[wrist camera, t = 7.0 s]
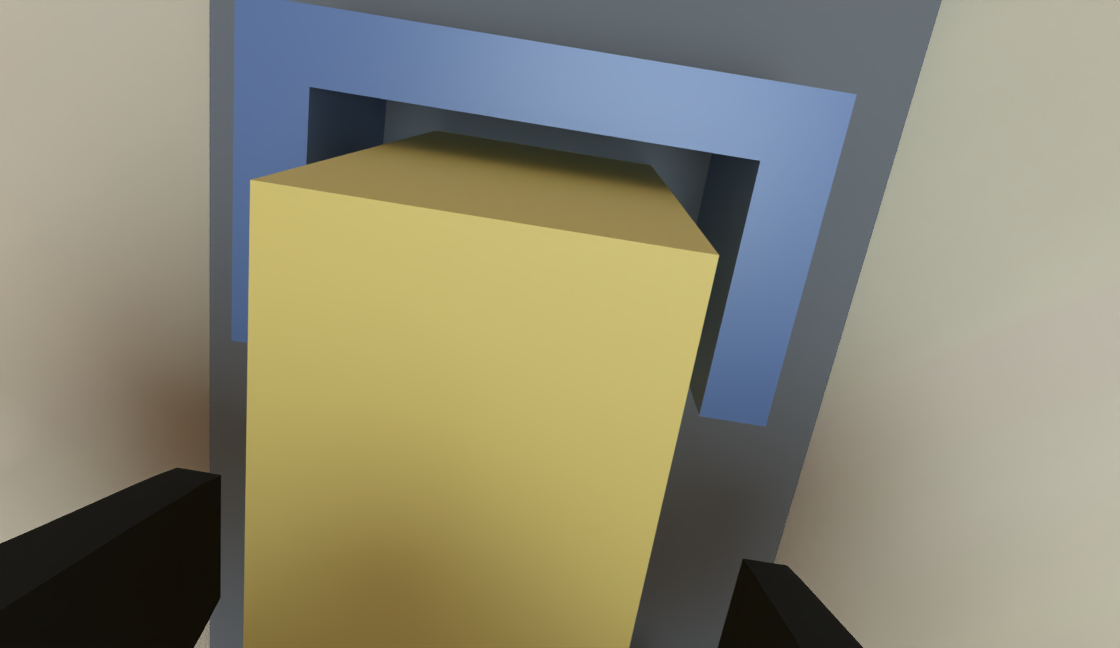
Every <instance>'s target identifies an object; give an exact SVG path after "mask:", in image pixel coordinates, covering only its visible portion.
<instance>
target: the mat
mask: <svg viewBox="0 0 1120 648" xmlns="http://www.w3.org/2000/svg"><path fill="white" fill-rule="evenodd" d="M288 1H294V2H300V3H306V4H312V5H318V6H324V7H330V8H336V9H342V10H348V11H354V12H360V13H366V14H372V15H379V16H385V17H391V18H397V19H403V20H409V21H415V22H421V23H427V24H433V25H439V26H445V27H451V28H457V29H463V30H470V31H476V32H482V33H488V34H494V35H500V36H506V37H512V38H518V39H524V40H530V41H536V42H542V43H548V44H554V45H561V46H567V47H573V48H579V49H585V50H591V51H597V52H603V53H609V54H615V55H621V56H627V57H633V58H639V59H645V60H652V61H658V62H664V63H670V64H676V65H682V66H688V67H694V68H700V69H706V70H712V71H718V72H724V73H730V74H736V75H743V76H749V77H755V78H761V79H767V80H773V81H779V82H785V83H791V84H797V85H803V86H809V87H815V88H821V89H827V90H834V91H840V92H846V93H852V94H857V96H856V99H855V103H854V107H853V110H852V114H851V118H850V121H849V125H848V129H847V132H846V136H845V139H844V143H843V147H842V150H841V154H840V158H839V161H838V165H837V169H836V172H835V176H834V180H833V183H832V187H831V190H830V194H829V198H828V201H827V205H826V209H825V212H824V216H823V220H822V223H821V227H820V231H819V234H818V238H817V241H816V245H815V249H814V252H813V256H812V260H811V263H810V267H809V271H808V274H807V278H806V282H805V285H804V289H803V292H802V296H801V300H800V303H799V307H798V311H797V314H796V318H795V322H794V325H793V329H792V332H791V336H790V340H789V343H788V347H787V351H786V354H785V358H784V362H783V365H782V369H781V373H780V376H779V380H778V383H777V387H776V391H775V394H774V398H773V402H772V405H771V409H770V413H769V416H768V420H767V424H766V427H764V426H758V425H752V424H745V423H739V422H733V421H727V420H721V419H714V418H708V417H702V416H699V414H698V411H697V408H696V405H695V402H694V399H693V396H692V392H691V389H690V386H689V389H688V394H687V398H686V402H685V407H684V411H683V415H682V420H681V424H680V428H679V433H678V437H677V442H676V446H675V450H674V455H673V459H672V463H671V468H670V472H669V476H668V481H667V485H666V489H665V494H664V498H663V502H662V507H661V511H660V516H659V520H658V524H657V529H656V533H655V537H654V542H653V546H652V550H651V555H650V559H649V563H648V568H647V572H646V576H645V581H644V585H643V590H642V594H641V598H640V603H639V607H638V611H637V616H636V620H635V624H634V629H633V633H632V637H631V642H630V646H629V648H718V644H719V641H720V637H721V634H722V630H723V627H724V623H725V620H726V616H727V612H728V609H729V605H730V602H731V598H732V595H733V591H734V588H735V584H736V580H737V577H738V573H739V570H740V566H741V563H742V559H749V560H756V561H762V562H768V563H774V560H775V556H776V553H777V550H778V546H779V543H780V539H781V536H782V533H783V529H784V526H785V523H786V519H787V516H788V513H789V509H790V506H791V503H792V499H793V496H794V493H795V489H796V486H797V483H798V479H799V476H800V473H801V469H802V466H803V462H804V459H805V456H806V452H807V449H808V446H809V442H810V439H811V436H812V432H813V429H814V426H815V422H816V419H817V416H818V412H819V409H820V406H821V402H822V399H823V396H824V392H825V389H826V385H827V382H828V379H829V375H830V372H831V369H832V365H833V362H834V359H835V355H836V352H837V349H838V345H839V342H840V339H841V335H842V332H843V329H844V325H845V322H846V319H847V315H848V312H849V308H850V305H851V302H852V298H853V295H854V292H855V288H856V285H857V282H858V278H859V275H860V272H861V268H862V265H863V262H864V258H865V255H866V252H867V248H868V245H869V242H870V238H871V235H872V231H873V228H874V225H875V221H876V218H877V215H878V211H879V208H880V205H881V201H882V198H883V195H884V191H885V188H886V185H887V181H888V178H889V175H890V171H891V168H892V165H893V161H894V158H895V154H896V151H897V148H898V144H899V141H900V138H901V134H902V131H903V128H904V124H905V121H906V118H907V114H908V111H909V108H910V104H911V101H912V98H913V94H914V91H915V88H916V84H917V81H918V77H919V74H920V71H921V67H922V64H923V61H924V57H925V54H926V51H927V47H928V44H929V41H930V37H931V34H932V31H933V27H934V24H935V21H936V17H937V14H938V10H939V7H940V4H941V0H288ZM234 23H235V0H210V473H212V474H219V475H221V598H220V600H219V602H218V604H217V606H216V608H215V609H214V611H213V613H212V615H211V617H210V648H243V623H244V557H245V492H246V426H247V360H248V343H244V342H238V341H232V340H231V331H232V228H233V125H234ZM436 130H437V131H443V132H449V133H455V134H461V135H467V136H474V137H480V138H486V139H492V140H498V141H505V142H511V143H517V144H523V145H529V146H536V147H542V148H548V149H554V150H560V151H567V152H573V153H579V154H585V155H591V156H597V157H604V158H610V159H616V160H622V161H628V162H635V163H641V164H647V165H651V166H652V167H653V168H654V170H655V171H656V172H657V174H658V175H659V176H660V178H661V179H662V180H663V182H664V183H665V184H666V186H667V187H668V188H669V189H670V191H671V192H672V193H673V195H674V196H675V197H676V199H677V200H678V201H679V203H680V204H681V205H682V207H683V208H684V209H685V211H686V212H687V213H688V215H689V216H690V217H691V219H692V220H693V221H694V223H695V224H697V219H698V215H699V210H700V206H701V201H702V196H703V192H704V187H705V183H706V178H707V174H708V169H709V164H710V160H711V155H712V153H710V152H703V151H697V150H691V149H685V148H679V147H673V146H667V145H661V144H655V143H649V142H643V141H636V140H630V139H624V138H618V137H612V136H606V135H600V134H594V133H588V132H582V131H575V130H569V129H563V128H557V127H551V126H545V125H539V124H533V123H527V122H521V121H515V120H508V119H502V118H496V117H490V116H484V115H478V114H472V113H466V112H460V111H454V110H447V109H441V108H435V107H429V106H423V105H417V104H411V103H405V102H399V101H393V100H387V102H386V116H385V129H384V142H383V144H387V143H391V142H395V141H398V140H402V139H406V138H410V137H413V136H417V135H421V134H425V133H428V132H432V131H436Z"/></svg>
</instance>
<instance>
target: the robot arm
mask: <svg viewBox="0 0 1120 648" xmlns="http://www.w3.org/2000/svg"><path fill="white" fill-rule="evenodd" d="M220 598H221V475H219V474H212V473H206V472H200V471H194V470H187V469H181V468H175V469H172V470H170V471H167V472H164V473H161V474H159V475H156V476H154V477H151V478H149V479H147V480H144V481H142V482H140V483H137V484H135V485H133V486H130V487H128V488H126V489H123V490H121V491H119V492H117V493H114V494H112V495H110V496H108V497H105V498H103V499H101V500H99V501H96V502H94V503H92V504H90V505H88V506H85V507H83V508H81V509H79V510H76V511H74V512H72V513H69V514H67V515H65V516H63V517H60V518H58V519H56V520H54V521H51V522H49V523H47V524H44V525H42V526H40V527H38V528H35V529H33V530H31V531H29V532H26V533H24V534H22V535H20V536H17V537H15V538H13V539H10V540H8V541H6V542H3V543H1V544H0V648H194V646H195V644H196V643H197V641H198V639H199V637H200V636H201V634H202V632H203V630H204V628H205V626H206V624H207V623H208V621H209V619H210V617H211V615H212V613H213V611H214V609H215V608H216V606H217V604H218V602H219V600H220ZM718 648H863V647H862V646H861V645H860V644H859V643H858V642H857V640H856V639H855V638H854V637H853V636H852V635H851V634H850V633H849V632H848V631H847V630H846V628H845V627H844V626H843V625H842V624H841V623H840V622H839V621H838V620H837V619H836V617H835V616H834V615H833V614H832V613H831V612H830V611H829V610H828V609H827V608H826V606H825V605H824V604H823V603H822V602H821V601H820V600H819V599H818V598H817V597H816V595H815V594H814V593H813V592H812V591H811V590H810V589H809V588H808V587H807V586H806V585H805V584H804V582H803V581H802V580H801V579H800V578H799V577H798V576H797V575H796V574H795V573H794V572H793V571H792V570H791V569H790V568H789V567H788V566H787V565H780V564H774V563H768V562H762V561H756V560H749V559H742V563H741V566H740V570H739V573H738V577H737V580H736V584H735V588H734V591H733V595H732V598H731V602H730V605H729V609H728V612H727V616H726V620H725V623H724V627H723V630H722V634H721V637H720V641H719V644H718Z"/></svg>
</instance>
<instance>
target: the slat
mask: <svg viewBox="0 0 1120 648" xmlns="http://www.w3.org/2000/svg"><path fill="white" fill-rule="evenodd" d="M718 259H719V254H718V253H717V252H716V250H715V249H714V248H713V246H712V245H711V244H710V242H709V241H708V240H707V238H706V237H705V236H704V234H703V233H702V232H701V230H700V229H699V228H698V226H697V225H696V224H695V223H694V221H693V220H692V219H691V217H690V216H689V215H688V213H687V212H686V211H685V209H684V208H683V207H682V205H681V204H680V203H679V201H678V200H677V199H676V197H675V196H674V195H673V193H672V192H671V191H670V189H669V188H668V187H667V186H666V184H665V183H664V182H663V180H662V179H661V178H660V176H659V175H658V174H657V172H656V171H655V170H654V168H653V167H652V166H651V165H647V164H641V163H635V162H628V161H622V160H616V159H610V158H604V157H597V156H591V155H585V154H579V153H573V152H567V151H560V150H554V149H548V148H542V147H536V146H529V145H523V144H517V143H511V142H505V141H498V140H492V139H486V138H480V137H474V136H467V135H461V134H455V133H449V132H443V131H437V130H436V131H432V132H428V133H425V134H421V135H417V136H413V137H410V138H406V139H402V140H398V141H395V142H391V143H387V144H383V145H380V146H376V147H372V148H368V149H364V150H361V151H357V152H353V153H349V154H346V155H342V156H338V157H334V158H331V159H327V160H323V161H319V162H316V163H312V164H308V165H304V166H300V167H297V168H293V169H289V170H285V171H282V172H278V173H274V174H270V175H267V176H263V177H259V178H255V179H252V180H250V228H249V294H248V360H247V426H246V492H245V557H244V623H243V648H629V646H630V642H631V637H632V633H633V629H634V624H635V620H636V616H637V611H638V607H639V603H640V598H641V594H642V590H643V585H644V581H645V576H646V572H647V568H648V563H649V559H650V555H651V550H652V546H653V542H654V537H655V533H656V529H657V524H658V520H659V516H660V511H661V507H662V502H663V498H664V494H665V489H666V485H667V481H668V476H669V472H670V468H671V463H672V459H673V455H674V450H675V446H676V442H677V437H678V433H679V428H680V424H681V420H682V415H683V411H684V407H685V402H686V398H687V394H688V389H689V385H690V381H691V376H692V372H693V368H694V363H695V359H696V354H697V350H698V346H699V341H700V337H701V333H702V328H703V324H704V320H705V315H706V311H707V307H708V302H709V298H710V294H711V289H712V285H713V280H714V276H715V272H716V267H717V263H718Z"/></svg>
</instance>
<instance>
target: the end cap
mask: <svg viewBox="0 0 1120 648" xmlns="http://www.w3.org/2000/svg"><path fill="white" fill-rule="evenodd" d="M856 96H857V94H852V93H846V92H840V91H834V90H827V89H821V88H815V87H809V86H803V85H797V84H791V83H785V82H779V81H773V80H767V79H761V78H755V77H749V76H743V75H736V74H730V73H724V72H718V71H712V70H706V69H700V68H694V67H688V66H682V65H676V64H670V63H664V62H658V61H652V60H645V59H639V58H633V57H627V56H621V55H615V54H609V53H603V52H597V51H591V50H585V49H579V48H573V47H567V46H561V45H554V44H548V43H542V42H536V41H530V40H524V39H518V38H512V37H506V36H500V35H494V34H488V33H482V32H476V31H470V30H463V29H457V28H451V27H445V26H439V25H433V24H427V23H421V22H415V21H409V20H403V19H397V18H391V17H385V16H379V15H372V14H366V13H360V12H354V11H348V10H342V9H336V8H330V7H324V6H318V5H312V4H306V3H300V2H294V1H288V0H235V23H234V125H233V228H232V331H231V340H232V341H238V342H244V343H248V294H249V228H250V180H252V179H255V178H259V177H263V176H267V175H270V174H274V173H278V172H282V171H285V170H289V169H293V168H297V167H300V166H304V165H308V164H312V163H316V162H319V161H323V160H327V159H331V158H334V157H338V156H342V155H346V154H349V153H353V152H357V151H361V150H364V149H368V148H372V147H376V146H380V145H383V142H384V129H385V116H386V102H387V100H393V101H399V102H405V103H411V104H417V105H423V106H429V107H435V108H441V109H447V110H454V111H460V112H466V113H472V114H478V115H484V116H490V117H496V118H502V119H508V120H515V121H521V122H527V123H533V124H539V125H545V126H551V127H557V128H563V129H569V130H575V131H582V132H588V133H594V134H600V135H606V136H612V137H618V138H624V139H630V140H636V141H643V142H649V143H655V144H661V145H667V146H673V147H679V148H685V149H691V150H697V151H703V152H710V153H712V155H711V160H710V164H709V169H708V174H707V178H706V183H705V187H704V192H703V196H702V201H701V206H700V210H699V215H698V219H697V224H696V225H697V226H698V228H699V229H700V230H701V232H702V233H703V234H704V236H705V237H706V238H707V240H708V241H709V242H710V244H711V245H712V246H713V248H714V249H715V250H716V252H717V253H718V254H719V259H718V263H717V267H716V272H715V276H714V280H713V285H712V289H711V294H710V298H709V302H708V307H707V311H706V315H705V320H704V324H703V328H702V333H701V337H700V341H699V346H698V350H697V354H696V359H695V363H694V368H693V372H692V376H691V381H690V385H689V386H690V389H691V392H692V396H693V399H694V402H695V405H696V408H697V411H698V414H699V416H702V417H708V418H714V419H721V420H727V421H733V422H739V423H745V424H752V425H758V426H764V427H766V424H767V420H768V416H769V413H770V409H771V405H772V402H773V398H774V394H775V391H776V387H777V383H778V380H779V376H780V373H781V369H782V365H783V362H784V358H785V354H786V351H787V347H788V343H789V340H790V336H791V332H792V329H793V325H794V322H795V318H796V314H797V311H798V307H799V303H800V300H801V296H802V292H803V289H804V285H805V282H806V278H807V274H808V271H809V267H810V263H811V260H812V256H813V252H814V249H815V245H816V241H817V238H818V234H819V231H820V227H821V223H822V220H823V216H824V212H825V209H826V205H827V201H828V198H829V194H830V190H831V187H832V183H833V180H834V176H835V172H836V169H837V165H838V161H839V158H840V154H841V150H842V147H843V143H844V139H845V136H846V132H847V129H848V125H849V121H850V118H851V114H852V110H853V107H854V103H855V99H856Z"/></svg>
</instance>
